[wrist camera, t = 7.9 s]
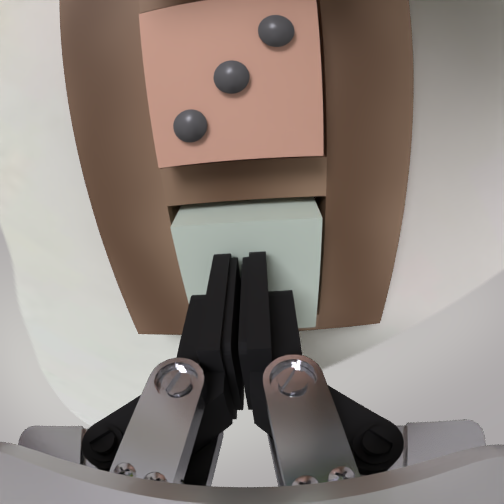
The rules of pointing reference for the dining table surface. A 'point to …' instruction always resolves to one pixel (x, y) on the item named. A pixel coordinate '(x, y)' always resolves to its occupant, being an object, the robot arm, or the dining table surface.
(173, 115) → the pink three-dot die face
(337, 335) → the dining table surface
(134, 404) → the robot arm
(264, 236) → the pale grey square block
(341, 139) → the tile board
